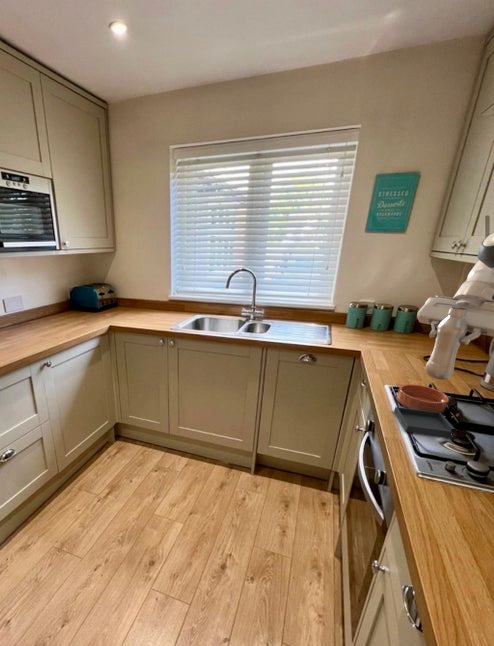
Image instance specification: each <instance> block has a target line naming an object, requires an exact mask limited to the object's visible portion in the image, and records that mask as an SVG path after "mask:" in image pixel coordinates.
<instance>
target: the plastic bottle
mask: <svg viewBox="0 0 494 646" xmlns="http://www.w3.org/2000/svg"><path fill="white" fill-rule="evenodd" d="M466 312H467V309H466V308H461V307H450V310H449V312H448V315H449V316H448V317H447V318H445V319H444V320H443V321H441V322H440V323H439V325H438V328H436V330H437V336H436V338H435V342H434V346H433V350H432V352H431V354H430V357H429V359H428V361H427V362H426V364H425V368H424V372H425V374H426V376H428V377H429V378H433V379H437V380H448V379H450V378H451V377H452V376H453V374H454V371H455V363H456V359H457V354H458V351H459V348H460V346H461V342H460V341H461V339H462V338H463V336H466V334H467V333H468V332H467V324H466V322H465V320H464V317H465V316H466Z"/></svg>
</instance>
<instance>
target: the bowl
mask: <svg viewBox="0 0 494 646" xmlns="http://www.w3.org/2000/svg"><path fill="white" fill-rule="evenodd" d="M434 399H435V400H434ZM396 400H397V402H398V403H399V404H401V406H404V408H409V409H417V410H425V411H434V412H440V413H441V414H442V413H444V412H445V411H446V409H447V407H448V404H449V401H450V398H449V396H448V395H447V394H445V393H444V392H443V391H440V390H438V389H435V388H433V387H429V386H426V385H422V384H407V383H406V384H402V385H401V386H399V388H398V390H397V394H396ZM436 400H437V401H436ZM445 408H446V409H445Z"/></svg>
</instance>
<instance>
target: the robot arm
mask: <svg viewBox="0 0 494 646" xmlns="http://www.w3.org/2000/svg"><path fill="white" fill-rule="evenodd" d="M477 259H478V261H477V262H476V263H475V264H474V266H472V269H471V270H470V271H469V273H468V274H467V276H466V280H465V281H463V282H462V284H461V285H460V287H459V288H458V290H457V291H456V293H455V294H454V296H445V295H439V294H438V295H433V296H429V297H428V298H427V299H426V301H425V303H424V305H423V306H422V307H421V308H420V309H419V310H418V311H417V315H416V317H417V319H418V322H419V323H420V324H426V325H431V330H430V332H429V334H428V335H429V338H433V339H436V336H437V330H438V329H437V328H438V325H439V323H440V322H441V321H443V320H444V319H445V318H447V317H448V316H449V315H448V312H449V310H450V307H461V308H466V309H467V312H466V316H465V317H464V320H465V322H466V324H467V332H466V333H470V334H468V335H465V336H463V338H462V339H461V341H460V342H461V343H460V345H464V346H468V345H469V344H470V342H471V341H474V340H475V339H478V338H479V337H480V336H481V335H483V336H489V337H494V231H492V232H491V233H489V234H488V235H487V236H485V238H483V240H482V241H481V243H480V245H479V248H478V252H477Z"/></svg>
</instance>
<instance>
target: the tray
mask: <svg viewBox="0 0 494 646" xmlns="http://www.w3.org/2000/svg"><path fill="white" fill-rule="evenodd" d="M393 414H394V415H395V417H396V419H397V420H398V422H399V423H400V425H401V426H402V428H403V429H404V431H405V432H406V433H412V434H419V435H425V436H426V435H427V436H434V437H442V438H449V439H454V438H453V437H452V435H451V429H456V428H455V427H454V426H453V425H452V424H451V422H449V419H447V418H446V417H445V416H444V415H443V414H442V413H440V412H434V411H425V410H417V409H410V408H407V407H399V406H395V407H394V410H393Z"/></svg>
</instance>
